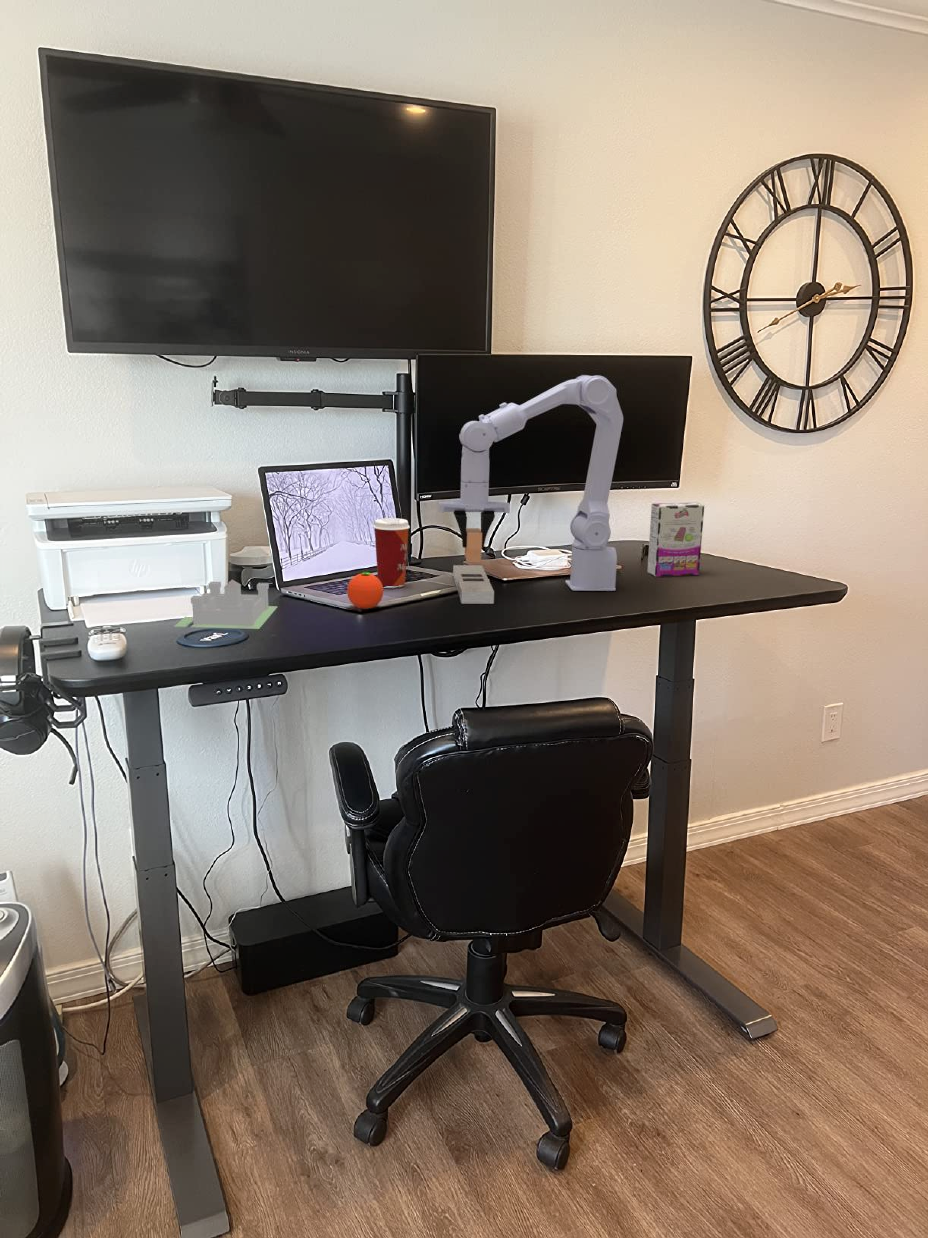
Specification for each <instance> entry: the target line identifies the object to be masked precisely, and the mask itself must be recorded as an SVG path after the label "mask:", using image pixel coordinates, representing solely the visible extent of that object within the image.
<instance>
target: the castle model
mask: <svg viewBox="0 0 928 1238" xmlns="http://www.w3.org/2000/svg"><path fill="white" fill-rule="evenodd" d="M241 586H242V584H240V583H239V582H238V581H235V580H234V579H231V580H230V581H228V582H227V584H226V585H224V587H223V590H224V593H221V587H222V581H210V582H209V583H208V589H209V590H210V591H209V592H205V593H203V594H202V595H193V596H192V597H190V604H191V606H192V611H193V617H186V616H184V617H183V618H182V619H181V620H179V622H177V623H176V624H175V625H173V627H175V628H186V627H188V626H189V625H190V624H191V623H192V622H193V624H192V625H191V626H190V628H207V629H209V628H211V629H246V630H247V629H248V630H249V629H250V630H258V629H259V630H260V628H261V627H262V626H263V625H264V624H265V623H266V622H267V620H268V619H269V618H270V617H271V616H272V614H273V613H274V612H275V611H276V610H277V608H278V606H275V605H274V606H273V605H269V588H270V587H269V586H270V585H269V582H258V583H257V584H256V591H257V592H258V593H257V594H250V593H249V594H247V593H244V594H242V591H241V590H242V589H241V588H242V587H241Z"/></svg>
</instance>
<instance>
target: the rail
mask: <svg viewBox="0 0 928 1238" xmlns="http://www.w3.org/2000/svg"><path fill="white" fill-rule="evenodd" d="M452 567H453V570H452V577H453V576H454V577H453V580H454V579H455V581H454V583H455V582H456V584H457V587H456V589H457V588H458V590H457V593H458V596H459V601H460V603H461V604H463V605H465V604H466V605H468V604H470V605H471V604H472V605H473V604H474V605H475V604H478V605H479V604H480V605H482V604H483V605H485V604H486V605H487V604H488V605H489V604H491V605H492V604H494V603H495V590H494V589H493V586H492V584H491V581H490V580H489V578H488V576H487V573H486V572H485V569H484V567H483V565H475V564H474V565H464V564H463V565H462V564H461V565H460V564H459V565H456V564H454V565H453V566H452ZM456 584H455V585H456Z"/></svg>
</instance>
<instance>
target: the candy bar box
mask: <svg viewBox="0 0 928 1238" xmlns="http://www.w3.org/2000/svg"><path fill="white" fill-rule="evenodd" d="M650 509H651V511H650V525H649V527H650V528H649V540H648V556H647V557H648V558H647V573H648V575H651V576H654V577H656V578H659V577H662V578H663V577H686V576H688V577H689V576H699V574H700V565H701V563H700V562H701V551H702V540H703V539H702V538H703V531H704V530H703V527H704V513H705V505H704V504H702V503H699V502H666V503H665V502H663V503H661V502H660V503H656V502H655V503H651V508H650Z"/></svg>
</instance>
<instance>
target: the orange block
mask: <svg viewBox="0 0 928 1238" xmlns="http://www.w3.org/2000/svg"><path fill="white" fill-rule="evenodd" d="M466 538H467V545H466V548H464V558H465V560H466V562H468V563H469V562H471V563H473V562H475V563H476V562H482V549H483V548H482V532H481V528H479V527H466Z"/></svg>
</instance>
